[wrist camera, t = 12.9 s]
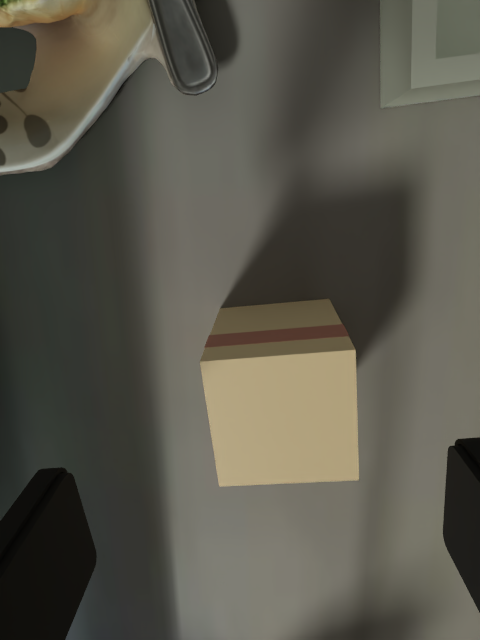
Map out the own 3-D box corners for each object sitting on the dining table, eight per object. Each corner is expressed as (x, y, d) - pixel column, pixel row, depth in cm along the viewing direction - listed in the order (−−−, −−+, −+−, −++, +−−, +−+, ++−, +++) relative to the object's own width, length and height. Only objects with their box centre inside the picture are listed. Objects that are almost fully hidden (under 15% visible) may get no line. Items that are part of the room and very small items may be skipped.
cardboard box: (329, 297, 19) (356, 349, 13) (333, 396, 20) (359, 480, 14) (219, 307, 19) (199, 360, 13) (232, 402, 21) (218, 486, 15)
